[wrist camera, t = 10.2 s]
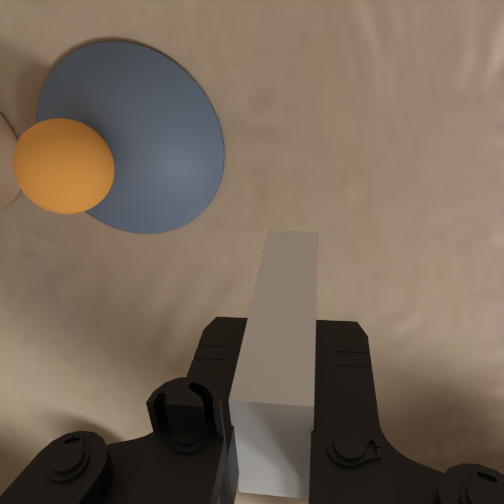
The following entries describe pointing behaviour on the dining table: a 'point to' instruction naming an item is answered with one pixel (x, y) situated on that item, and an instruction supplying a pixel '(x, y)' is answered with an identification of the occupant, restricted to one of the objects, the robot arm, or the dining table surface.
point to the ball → (63, 166)
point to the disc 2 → (141, 132)
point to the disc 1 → (7, 164)
